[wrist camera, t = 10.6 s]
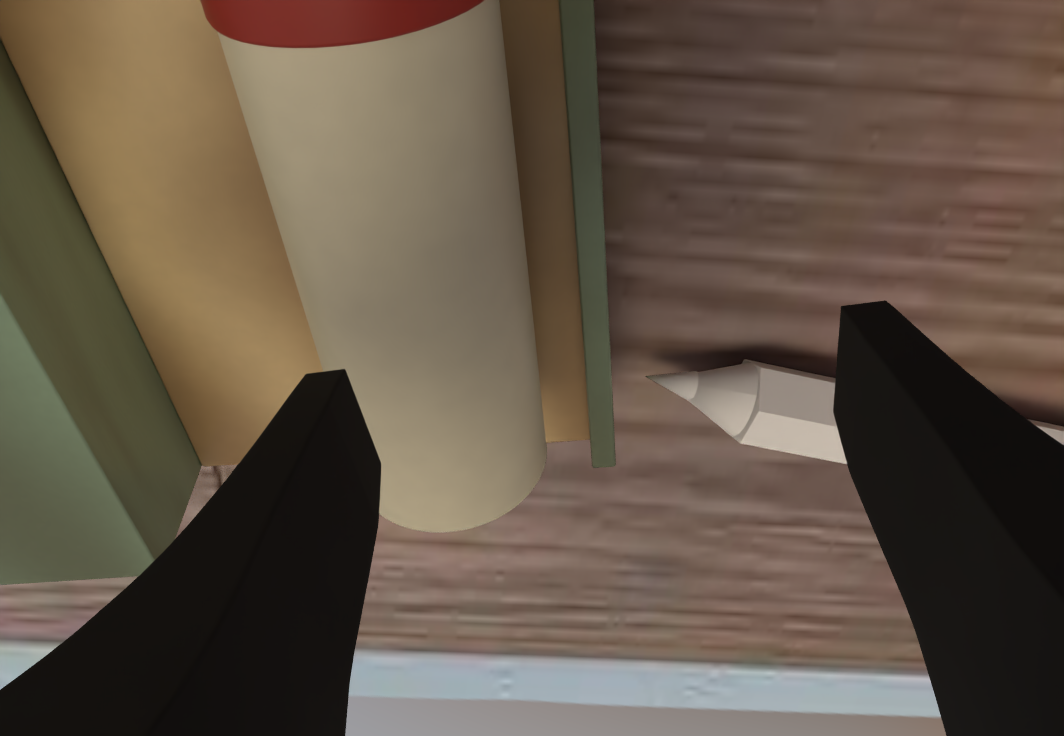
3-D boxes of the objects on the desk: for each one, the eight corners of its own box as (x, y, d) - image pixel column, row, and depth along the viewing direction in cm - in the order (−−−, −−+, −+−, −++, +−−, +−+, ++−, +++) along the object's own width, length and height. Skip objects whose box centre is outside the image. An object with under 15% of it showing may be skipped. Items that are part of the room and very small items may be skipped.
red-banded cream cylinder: (458, 366, 24) (592, 448, 21) (313, 468, 21) (444, 574, 19) (323, -381, 14) (543, -401, 11) (26, -343, 12) (218, -356, 9)
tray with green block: (556, -591, 14) (571, -681, 9) (606, 376, 26) (624, 546, 21) (-460, -457, 14) (-916, -477, 10) (57, 417, 27) (-39, 588, 22)
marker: (641, 333, 26) (1132, 438, 28) (623, 405, 26) (1110, 503, 29) (665, 350, 23) (1203, 464, 26) (646, 429, 24) (1178, 534, 26)
